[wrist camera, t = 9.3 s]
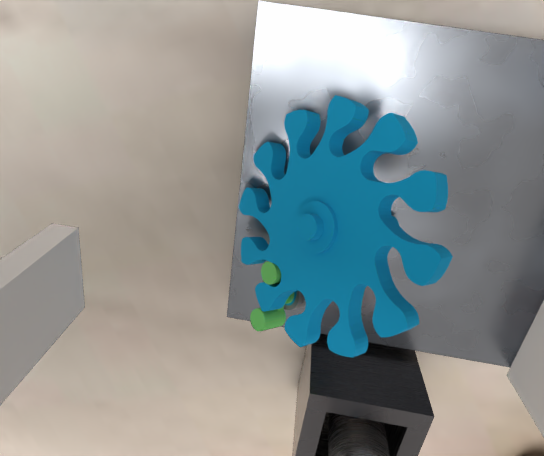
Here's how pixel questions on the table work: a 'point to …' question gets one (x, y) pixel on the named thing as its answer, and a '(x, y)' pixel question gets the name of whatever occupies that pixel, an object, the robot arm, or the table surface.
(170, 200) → the table surface
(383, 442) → the plunger
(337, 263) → the blue lobed star wheel
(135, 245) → the table surface
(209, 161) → the table surface
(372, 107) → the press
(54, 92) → the table surface
